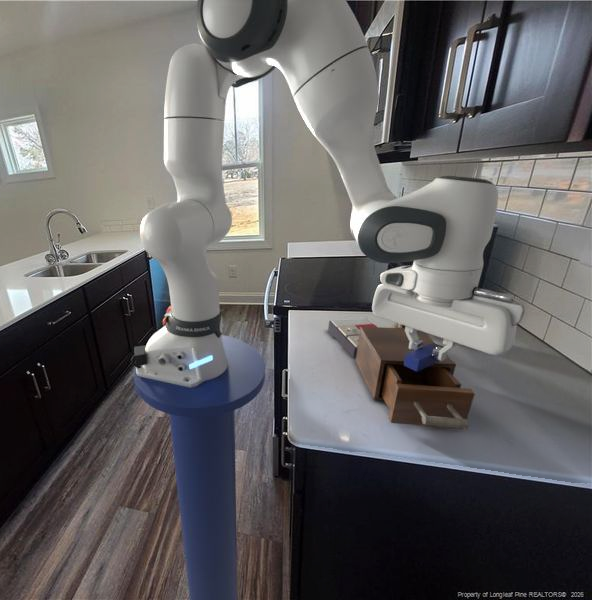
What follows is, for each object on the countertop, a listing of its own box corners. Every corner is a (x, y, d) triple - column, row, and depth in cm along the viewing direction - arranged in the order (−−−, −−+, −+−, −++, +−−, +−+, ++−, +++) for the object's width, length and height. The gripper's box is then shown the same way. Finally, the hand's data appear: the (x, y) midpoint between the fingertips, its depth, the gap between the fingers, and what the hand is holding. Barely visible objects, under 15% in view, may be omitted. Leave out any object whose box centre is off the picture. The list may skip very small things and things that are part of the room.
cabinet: (444, 406, 62) (456, 364, 58) (373, 400, 65) (381, 360, 61) (412, 364, 75) (421, 328, 72) (355, 361, 78) (360, 326, 74)
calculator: (355, 346, 77) (328, 318, 91) (353, 360, 79) (327, 331, 93) (399, 343, 78) (366, 315, 91) (396, 357, 79) (364, 328, 93)
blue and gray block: (417, 372, 55) (419, 360, 54) (403, 365, 57) (405, 354, 56) (444, 359, 58) (447, 347, 57) (430, 353, 60) (433, 342, 59)
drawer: (480, 452, 51) (494, 413, 48) (401, 443, 53) (410, 406, 50) (427, 383, 67) (435, 351, 64) (368, 379, 70) (373, 348, 67)
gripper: (538, 293, 45) (509, 375, 50) (392, 265, 62) (382, 329, 67) (519, 303, 42) (491, 390, 47) (372, 271, 59) (363, 337, 64)
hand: (426, 353), depth 57 cm, fingers closed on blue and gray block, 2 cm apart
